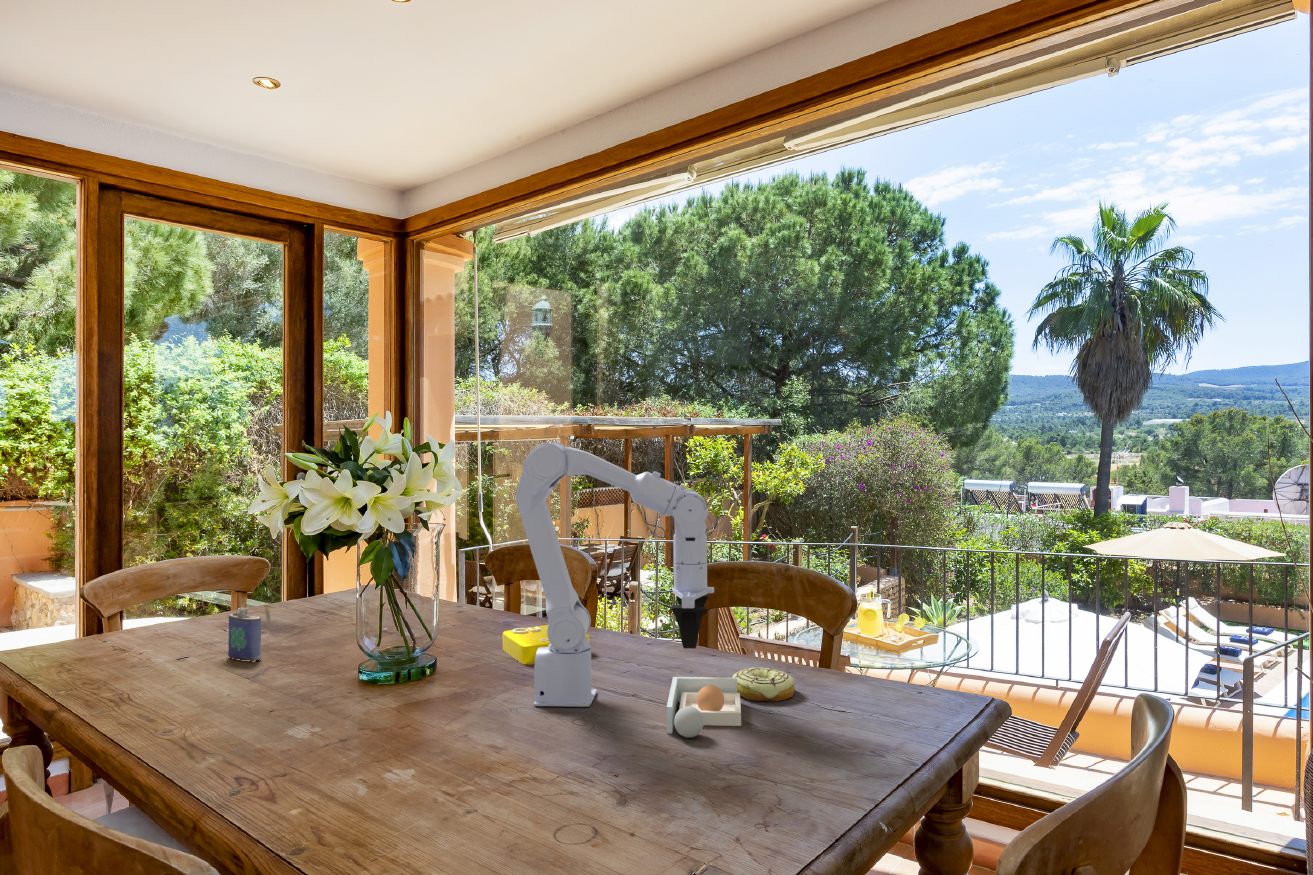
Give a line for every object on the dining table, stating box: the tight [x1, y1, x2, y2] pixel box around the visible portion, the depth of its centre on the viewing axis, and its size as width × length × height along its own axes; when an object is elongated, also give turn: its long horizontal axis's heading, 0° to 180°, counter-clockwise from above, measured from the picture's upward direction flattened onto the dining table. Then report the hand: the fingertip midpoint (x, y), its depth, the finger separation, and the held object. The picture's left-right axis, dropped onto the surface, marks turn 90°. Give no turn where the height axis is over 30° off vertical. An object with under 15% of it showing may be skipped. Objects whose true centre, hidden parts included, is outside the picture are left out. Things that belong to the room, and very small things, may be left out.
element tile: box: [502, 624, 591, 665], centre depth 164 cm, size 15×15×5 cm
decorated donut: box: [731, 666, 796, 702], centre depth 135 cm, size 10×11×4 cm
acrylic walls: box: [666, 676, 737, 735], centre depth 124 cm, size 11×15×4 cm
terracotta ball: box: [697, 685, 724, 711], centre depth 124 cm, size 4×4×4 cm
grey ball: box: [674, 706, 705, 739], centre depth 116 cm, size 4×4×4 cm
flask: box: [227, 607, 262, 661], centre depth 161 cm, size 9×3×11 cm, turn 61°
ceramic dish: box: [678, 692, 742, 727], centre depth 125 cm, size 10×10×2 cm
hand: (690, 641), depth 133 cm, fingers open, 7 cm apart
